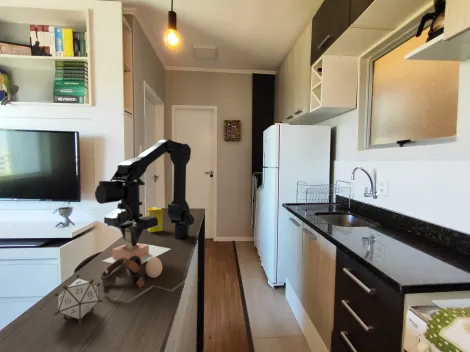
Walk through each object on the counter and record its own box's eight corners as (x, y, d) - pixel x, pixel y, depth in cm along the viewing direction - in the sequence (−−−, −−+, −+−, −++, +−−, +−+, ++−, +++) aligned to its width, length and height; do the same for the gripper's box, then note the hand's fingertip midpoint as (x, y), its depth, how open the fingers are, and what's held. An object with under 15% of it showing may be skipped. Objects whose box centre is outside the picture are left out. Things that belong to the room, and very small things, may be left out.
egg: (142, 280, 67) (142, 260, 66) (150, 273, 71) (150, 254, 71) (158, 281, 66) (157, 261, 66) (165, 274, 70) (164, 254, 70)
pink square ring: (131, 250, 88) (131, 241, 88) (148, 253, 85) (148, 245, 84) (112, 258, 80) (112, 249, 80) (130, 262, 77) (130, 252, 77)
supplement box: (146, 231, 114) (145, 207, 113) (159, 229, 117) (158, 206, 116) (149, 234, 109) (149, 210, 108) (162, 232, 112) (162, 208, 111)
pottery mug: (139, 297, 59) (119, 272, 57) (108, 310, 61) (88, 286, 59) (156, 265, 70) (140, 242, 68) (130, 276, 72) (113, 255, 70)
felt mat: (143, 245, 95) (143, 243, 95) (171, 250, 89) (171, 248, 89) (102, 262, 78) (102, 260, 78) (132, 269, 73) (132, 268, 73)
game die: (75, 330, 52) (73, 282, 57) (113, 314, 53) (108, 268, 57) (40, 336, 44) (41, 279, 49) (86, 317, 45) (83, 263, 49)
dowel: (131, 252, 84) (130, 226, 84) (137, 253, 83) (136, 227, 83) (125, 254, 82) (124, 228, 81) (131, 256, 81) (130, 229, 80)
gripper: (88, 200, 78) (89, 249, 79) (132, 205, 70) (133, 258, 71) (117, 196, 88) (118, 239, 89) (158, 200, 81) (159, 246, 81)
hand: (131, 245), depth 82 cm, fingers closed on dowel, 2 cm apart
